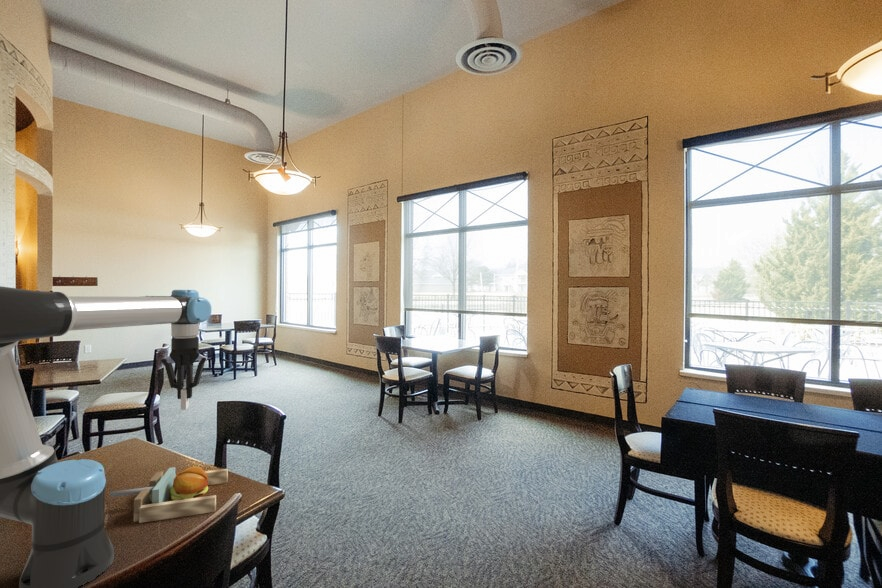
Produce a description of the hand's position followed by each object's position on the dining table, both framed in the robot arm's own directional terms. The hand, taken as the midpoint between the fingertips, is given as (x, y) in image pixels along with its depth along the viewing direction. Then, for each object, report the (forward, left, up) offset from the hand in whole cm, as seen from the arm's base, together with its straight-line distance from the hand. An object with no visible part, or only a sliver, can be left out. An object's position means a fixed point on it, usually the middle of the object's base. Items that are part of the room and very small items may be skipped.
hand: (184, 408), depth 128 cm
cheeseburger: (-12, -5, -25) cm, 28 cm away
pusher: (-13, +8, -24) cm, 28 cm away
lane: (-13, -4, -24) cm, 28 cm away
